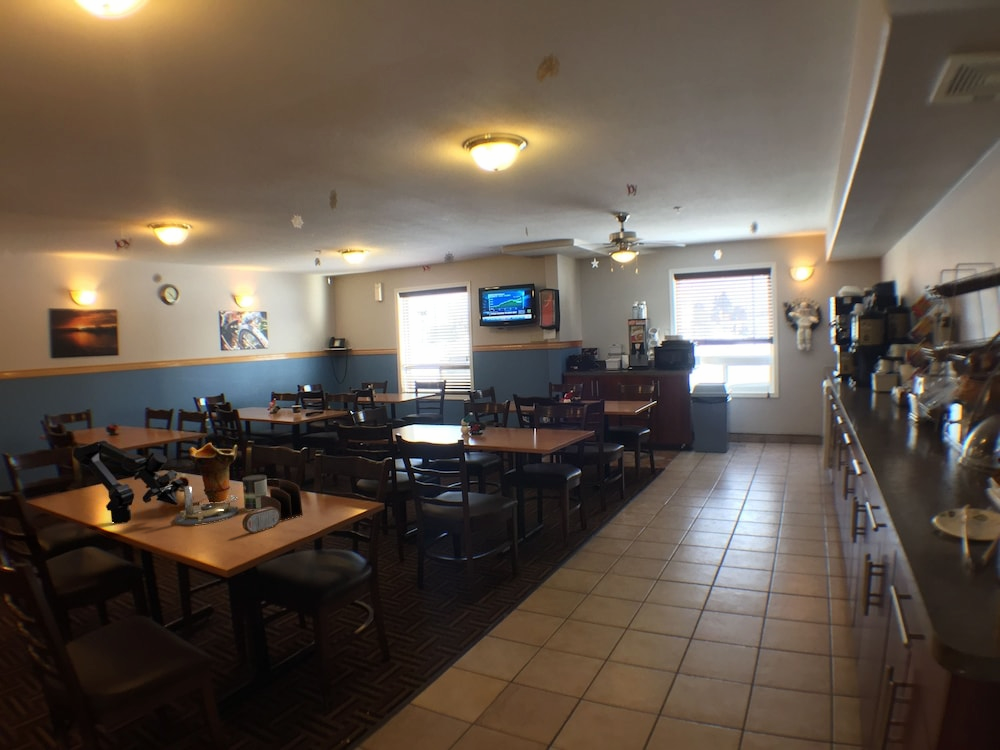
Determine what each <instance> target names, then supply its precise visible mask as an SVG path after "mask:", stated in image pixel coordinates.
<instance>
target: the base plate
mask: <svg viewBox="0 0 1000 750" xmlns="http://www.w3.org/2000/svg"><path fill="white" fill-rule="evenodd" d="M230 506H233V509H232V510H228V511H227V512H225V513H223V514H222V515H219V516H218V515H216V516H211V517H205V518H203V519H198V518H187V519H182V515H180V513H178V514H177V515H176V516H174V523H175V524H176V523H177V524H176V525H178V524H181V525H180V526H186V525H190V526H196V525H195V524H202V523H209V522H214V521H218V522H220V521H219V520H222V519H225V520H227V519H226V518H228V519H230V518H229V517H231V518H233V517H235V516H236V515H238V513H239V507H238V506H236V505H232V504H230ZM234 515H235V516H234ZM232 516H233V517H232ZM222 521H223V520H222ZM214 523H215V522H214ZM209 524H210V523H209Z"/></svg>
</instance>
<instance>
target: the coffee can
mask: <svg viewBox="0 0 1000 750" xmlns="http://www.w3.org/2000/svg"><path fill="white" fill-rule="evenodd" d="M267 481H268V480H267V475H266V474H253V475H248V476H245V477H243V478H242V490H243V492H242V493H243V505H244V510H245V511H247V510H258V509H261V496H263V495H264V496H269V495H268V485H267V483H268V482H267Z"/></svg>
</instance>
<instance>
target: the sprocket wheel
mask: <svg viewBox="0 0 1000 750" xmlns="http://www.w3.org/2000/svg"><path fill="white" fill-rule="evenodd" d="M192 488H193V486H192V485H187V486H183V493H184V507H185V509H184V510H181V511H179V514H180V515H182V519H187V518H198V519H203V518H205V517H211V516H216V515H218V516H219V515H222V514H223V513H225V512H227V511H228V510H232V509H233V506H234V505H233V506H230V505H231V503H230V502H227V503H215V502H213V503H210V504H204V505H194V499H193V489H192Z"/></svg>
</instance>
